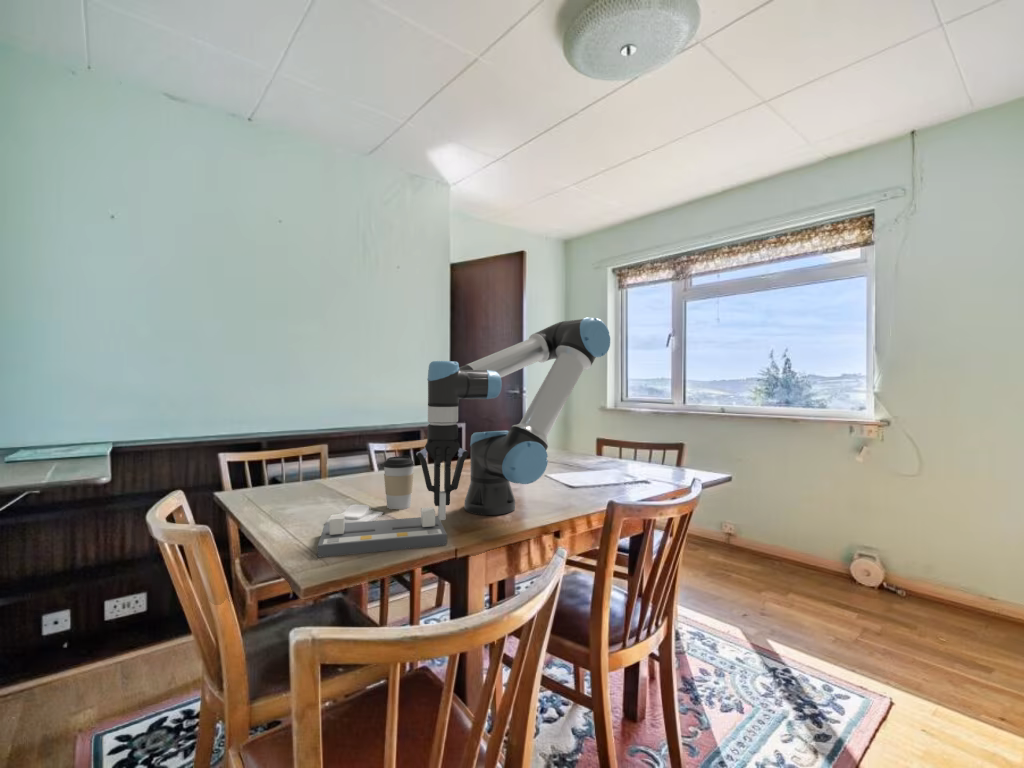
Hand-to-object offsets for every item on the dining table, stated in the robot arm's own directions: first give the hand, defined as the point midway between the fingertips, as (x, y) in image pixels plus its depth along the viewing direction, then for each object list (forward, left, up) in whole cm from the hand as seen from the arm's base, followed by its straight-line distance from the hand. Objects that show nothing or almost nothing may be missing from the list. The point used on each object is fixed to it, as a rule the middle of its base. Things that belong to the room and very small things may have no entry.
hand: (441, 518), depth 117 cm
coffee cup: (+9, -29, -4) cm, 30 cm away
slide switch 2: (+3, 0, -1) cm, 4 cm away
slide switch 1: (+24, 0, -1) cm, 24 cm away
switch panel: (+14, 0, -4) cm, 14 cm away
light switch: (+21, -20, -5) cm, 29 cm away
